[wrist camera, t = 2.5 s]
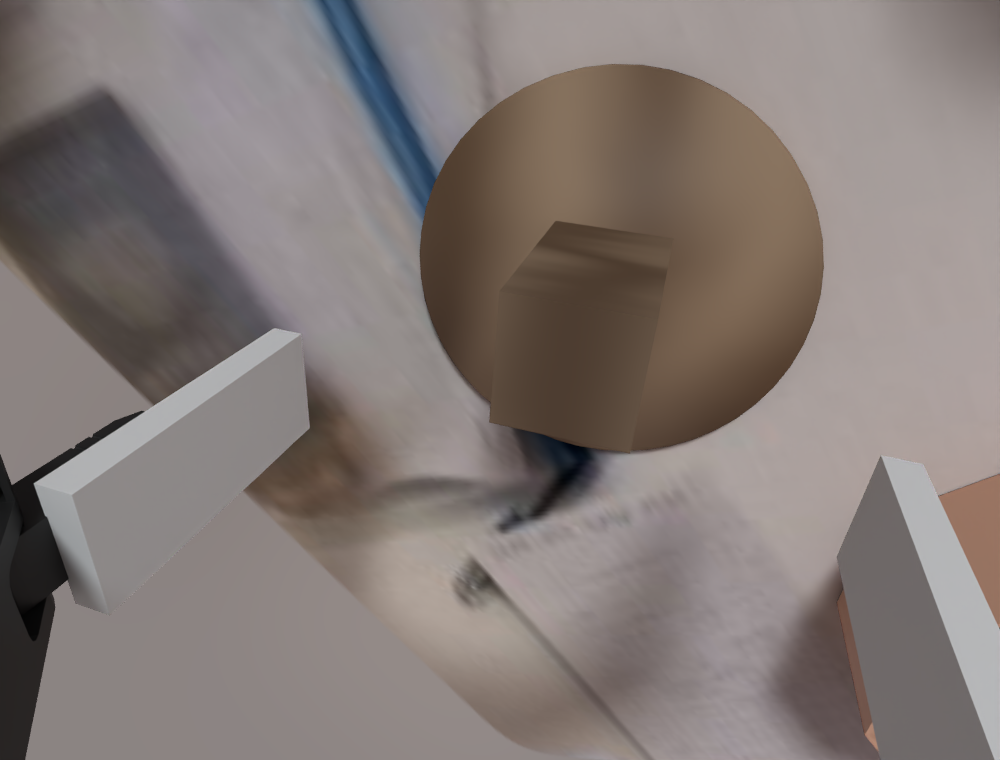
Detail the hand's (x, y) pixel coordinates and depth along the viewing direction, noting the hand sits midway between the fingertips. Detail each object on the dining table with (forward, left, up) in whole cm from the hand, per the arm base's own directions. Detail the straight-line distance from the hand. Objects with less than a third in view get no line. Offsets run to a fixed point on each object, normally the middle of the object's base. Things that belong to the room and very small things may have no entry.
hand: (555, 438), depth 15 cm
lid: (0, 0, -10) cm, 10 cm away
